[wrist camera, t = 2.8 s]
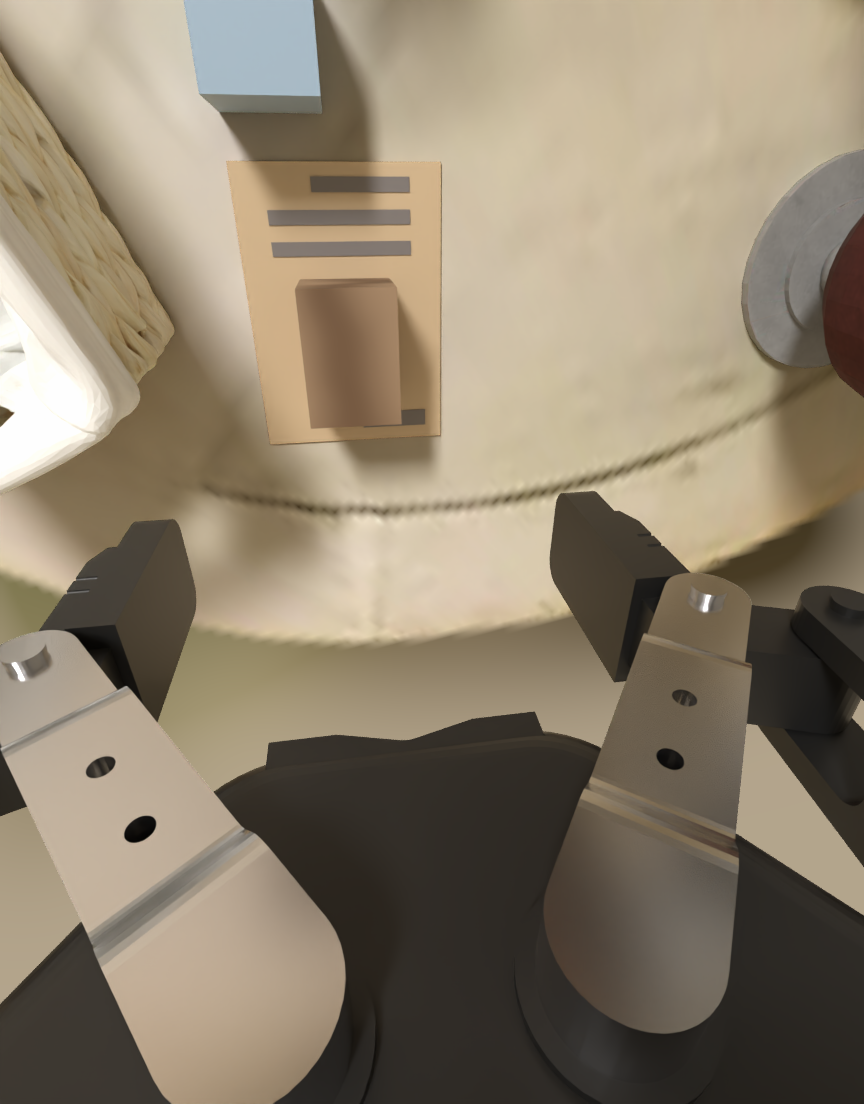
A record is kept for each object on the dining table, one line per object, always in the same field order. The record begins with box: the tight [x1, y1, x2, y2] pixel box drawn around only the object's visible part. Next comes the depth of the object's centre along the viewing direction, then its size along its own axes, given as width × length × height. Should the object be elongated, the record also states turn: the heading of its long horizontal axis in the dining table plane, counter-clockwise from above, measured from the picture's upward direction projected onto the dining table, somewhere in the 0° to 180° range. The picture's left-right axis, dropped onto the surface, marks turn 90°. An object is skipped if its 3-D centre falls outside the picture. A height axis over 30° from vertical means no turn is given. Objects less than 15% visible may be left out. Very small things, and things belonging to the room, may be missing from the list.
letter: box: [226, 161, 441, 444], centre depth 34 cm, size 11×15×1 cm
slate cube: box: [184, 0, 322, 114], centre depth 25 cm, size 5×5×5 cm
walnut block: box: [295, 278, 402, 429], centre depth 32 cm, size 5×7×5 cm
